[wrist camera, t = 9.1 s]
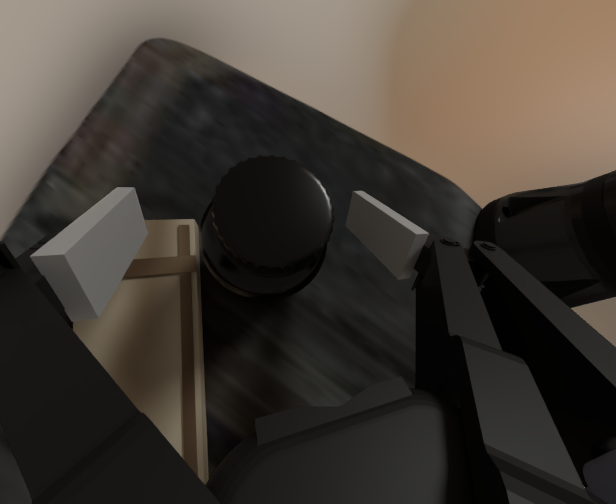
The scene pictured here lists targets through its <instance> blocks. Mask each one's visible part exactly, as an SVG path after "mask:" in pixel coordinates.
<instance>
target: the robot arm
mask: <svg viewBox="0 0 616 504" xmlns="http://www.w3.org/2000/svg"><path fill="white" fill-rule="evenodd" d="M346 227H347V228H348V229H349V230H350V231H351V232H352V233H353V234H354V235H355V236H356V237H357V238H358V239H359V240H360V241H361V242H362V243H363V244H364V245H365V246H366V247H367V248H368V249H369V250H370V251H371V252H372V253H373V254H374V255H375V256H376V257H377V258H378V259H379V260H380V261H381V262H382V263H383V264H384V265H385V266H386V268H387V269H388V270H389V271H390V272H391V273H392V274H393V275H394V276H395V277H396V278H397V279H398V280H399V279H406V278H410V276H411V274H412V272H413V270H414V269H415V270H416V271H417V272H419V273H418V275H417V278H416V280H415V282H414V284H413V286H412V289H411V290H414V288H416V384H415V388H408V386H407V385H406V383H405V382H404V380H403V378H402V377H401V376H400V377H397V378H393V379H390V380H387V381H383V382H380V383H376V384H373V385H370V386H369V387H367V388H366V389H365V390H363V391H362V392H360V393H359V394H358V395H356V396H355V397H353V398H352V399H351V400H349V401H348V402H347V403H345V404H344V405H342V406H339V407H294V408H290V409H287V410H283V411H280V412H276V413H273V414H270V415H266V416H263V417H259V418H256V419H255V430H256V432H254V433H253V434H251V435H250V436H248V437H247V438H245V439H244V440H243V441H242V442H240V443H239V444H238V445H237V446H236V447H234V448H233V450H232V451H231V452H230V453H229V454H228V455H227V456H226V457H225V458H224V459H223V460H222V462H221V463H220V464H219V465H218V467H217V468H216V469H215V471H214V472H213V474H212V475H211V477H210V478H209V480H208V481H207V483H206V484H204V483H203V482H202V481H201V480H200V478H199V477H198V476H197V475H196V474H195V472H194V471H193V470H192V469H191V468H190V466H189V465H188V464H187V463H186V462H185V460H184V459H183V458H182V457H181V456H180V454H179V453H178V452H177V451H176V450H175V448H174V447H173V446H172V445H171V444H170V442H169V441H168V440H167V439H166V438H165V436H164V435H163V434H162V433H161V432H160V430H159V429H158V428H157V427H156V426H155V425H154V423H153V422H152V421H151V420H150V419H149V418H148V416H147V415H146V414H144V413H143V412H142V413H141V412H140V411H139V410H138V409H137V407H136V406H135V405H134V404H133V403H132V401H131V400H130V399H129V398H128V397H127V395H126V394H125V393H124V392H123V390H122V389H121V388H120V387H119V386H118V384H117V383H116V382H115V381H114V380H113V378H112V377H111V376H110V375H109V373H108V372H107V371H106V370H105V369H104V367H103V366H102V365H101V364H100V363H99V361H98V360H97V359H96V358H95V356H94V355H93V354H92V353H91V352H90V350H89V349H88V348H87V347H86V346H85V344H84V343H83V342H82V341H81V340H80V338H79V337H78V336H77V335H76V333H75V332H74V331H73V330H72V329H71V327H70V326H69V325H68V324H67V323H66V321H65V320H64V319H63V318H62V316H61V313H62V312H63V311H64V310H65V312H66V313H67V315H68V317H69V318H70V320H71V321H72V322H75V321H83V320H91V319H98V318H99V317H100V316H101V314H102V312H103V310H104V309H105V307H106V305H107V304H108V302H109V300H110V298H111V297H112V295H113V293H114V291H115V290H116V288H117V286H118V285H119V283H120V281H121V279H122V278H123V276H124V274H125V273H126V271H127V269H128V267H129V266H130V264H131V262H132V261H133V259H134V257H135V255H136V254H137V252H138V250H139V248H140V247H141V245H142V243H143V242H144V240H145V238H146V236H147V235H148V231H147V228H146V225H145V221H144V218H143V215H142V211H141V208H140V204H139V201H138V198H137V194H136V191H135V188H129V187H117V188H116V189H114V190H113V191H112V192H111V193H109V194H108V195H107V196H105V197H104V198H103V199H102V200H100V201H99V202H98V203H97V204H95V205H94V206H93V207H92V208H90V209H89V210H88V211H87V212H85V213H84V214H83V215H81V216H80V217H79V218H78V219H76V220H75V221H74V222H73V223H71V224H70V225H69V226H68V227H66V228H65V229H61V230H58V231H56V232H54V233H51V234H49V235H47V236H45V237H44V238H43V239H41V240H40V241H39V242H37V244H35V245H33V246H32V247H31V248H29V250H27V251H25V252H24V253H23V254H21V255H20V256H19V257H17V258H16V259H15V258H14V257H13V255H12V254H11V252H10V251H9V249H8V248H7V246H6V245H5V243H3V242H0V423H1V426H2V428H3V431H4V433H5V435H6V438H7V440H8V442H9V445H10V447H11V450H12V452H13V454H14V457H15V459H16V462H17V464H18V466H19V469H20V471H21V473H22V476H23V478H24V481H25V483H26V485H27V488H28V490H29V493H30V495H31V499H32V504H616V347H615V346H614V345H612V344H611V343H610V342H609V341H608V340H607V339H605V338H604V337H603V336H602V335H601V334H599V333H598V332H597V331H596V330H595V329H594V328H592V327H591V326H590V325H589V324H588V323H587V322H586V321H585V320H583V319H582V318H581V317H580V316H579V315H578V314H576V313H575V312H574V311H573V310H572V309H571V308H573V307H577V306H581V305H584V304H589V303H593V302H597V301H601V300H605V299H609V298H613V297H616V170H615V171H613V172H610V173H608V174H605V175H602V176H599V177H596V178H593V179H591V180H588V181H585V182H581V183H577V184H571V185H565V186H557V187H550V188H543V189H536V190H529V191H523V192H516V193H512V194H509V195H506V196H504V197H501V198H499V199H497V200H494V201H492V202H490V203H489V204H487V205H486V206H485V207H484V208H483V210H482V211H481V213H480V215H479V218H478V221H477V226H476V241H474V243H473V245H472V246H471V248H470V249H466V248H463V247H462V245H461V244H460V243H459V242H457V241H455V240H453V239H451V238H448V237H438V236H437V237H435V238H433V237H431V236H430V235H429V233H427V232H426V231H424V230H423V229H421V228H420V227H418V226H417V225H415V224H413V223H412V222H410V221H409V220H407V219H406V218H404V217H402V216H401V215H399V214H398V213H396V212H395V211H393V210H392V209H390V208H388V207H387V206H385V205H384V204H382V203H381V202H379V201H377V200H376V199H374V198H373V197H371V196H370V195H368V194H366V193H365V192H363V191H353V194H352V199H351V203H350V208H349V213H348V217H347V222H346ZM487 277H488V278H489V280H488V282H487V284H486V285H485V287H484V286H483V283H484V281H485V280H486V278H487ZM584 487H585V488H584Z"/></svg>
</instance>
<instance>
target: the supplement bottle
mask: <svg viewBox="0 0 616 504" xmlns="http://www.w3.org/2000/svg"><path fill="white" fill-rule="evenodd" d="M333 211H334V208H333V206H332V204H331V198H330V196H329V195H328V192H327V189H326V188H325V187H324V186H323V184H322V182H321V180H320V179H319V178H317V177H316V176H315V174H314V173H313V172H312V171H310V170H308V169H307V168H306V167H305V166H304V165H302V164H298V163H297V162H296V161H295V160H288V159H286V158H285V157H276V156H274V155H270V156H262V155H260V156H258V157H256V158H248V159H247V160H246V161H241V162H238V163H237V165H236V166H234V167H231V168H229V170H228V173H227V174H225V175H223V176H222V177H221V182H220V183H219V184H218V185H217V186H216V193H215V195H214V196H213V198H212V202H211V203H210V204H209V206H208V207H207V209H206V211H205V213H204V215H203V218H202V221H201V225H200V231H199V244H200V250H201V254H202V257H203V260H204V262H205V264H206V266H207V268H208V270H209V271H210V273H211V274H212V276H213V277H214V278H215V279H216V280H217V281H218V282H219V283H220V284H221V285H222V286H223V287H224V288H225V289H226V290H227V291H229V292H230V293H231V294H232V295H234V296H236V297H237V298H240V299H242V300H245V301H249V302H267V301H273V300H279V299H282V298H286V297H288V296H291V295H293V294H295V293H297V292H298V291H300V290H301V289H303V288H304V287H305V286H307V285H308V284H309V283H310V282H311V281H312V280H313V279H314V277H315V276H316V275H317V273H318V272H319V270H320V268H321V266H322V264H323V261H324V258H325V255H326V250H327V242H328V241H329V239H330V234H331V232H332V231H333V226H332V223H333V222H334V216H333Z"/></svg>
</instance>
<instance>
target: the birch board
mask: <svg viewBox="0 0 616 504" xmlns="http://www.w3.org/2000/svg"><path fill="white" fill-rule="evenodd" d="M144 221H145V225H146V228H147V231H148V235H147V236H146V238H145V240H144V242H143V243H142V245H141V247H140V248H139V250H138V252H137V254H136V255H135V257H134V259H133V261H132V262H131V264H130V266H129V267H128V269H127V271H126V273H125V274H124V276H123V278H122V279H121V281H120V283H119V285H118V286H117V288H116V290H115V291H114V293H113V295H112V297H111V298H110V300H109V302H108V304H107V305H106V307H105V309H104V310H103V312H102V314H101V316H100V317H99V318H98V319H91V320H83V321H75V322H73V331H74V332H75V333H76V335H77V336H78V337H79V338H80V340H81V341H82V342H83V343H84V344H85V346H86V347H87V348H88V349H89V350H90V352H91V353H92V354H93V355H94V356H95V358H96V359H97V360H98V361H99V363H100V364H101V365H102V366H103V367H104V369H105V370H106V371H107V372H108V373H109V375H110V376H111V377H112V378H113V380H114V381H115V382H116V383H117V384H118V386H119V387H120V388H121V389H122V390H123V392H124V393H125V394H126V395H127V397H128V398H129V399H130V400H131V401H132V403H133V404H134V405H135V406H136V407H137V409H138V410H139V411H140V412H141V413H142V412H143V413H144V414H146V415H147V416H148V418H149V419H150V420H151V421H152V422H153V423H154V425H155V426H156V427H157V428H158V429H159V430H160V432H161V433H162V434H163V435H164V436H165V438H166V439H167V440H168V441H169V442H170V444H171V445H172V446H173V447H174V448H175V450H176V451H177V452H178V453H179V454H180V456H181V457H182V458H183V459H184V460H185V462H186V463H187V464H188V465H189V466H190V468H191V469H192V470H193V471H194V472H195V474H196V475H197V476H198V477H199V478H200V480H201V481H202V482H203V483H204V484H206V483H207V481H208V480H209V474H208V450H207V426H206V402H205V378H204V354H203V330H202V306H201V282H200V258H199V234H198V226H197V224H196V222H195V220H194V219H180V220H144Z"/></svg>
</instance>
